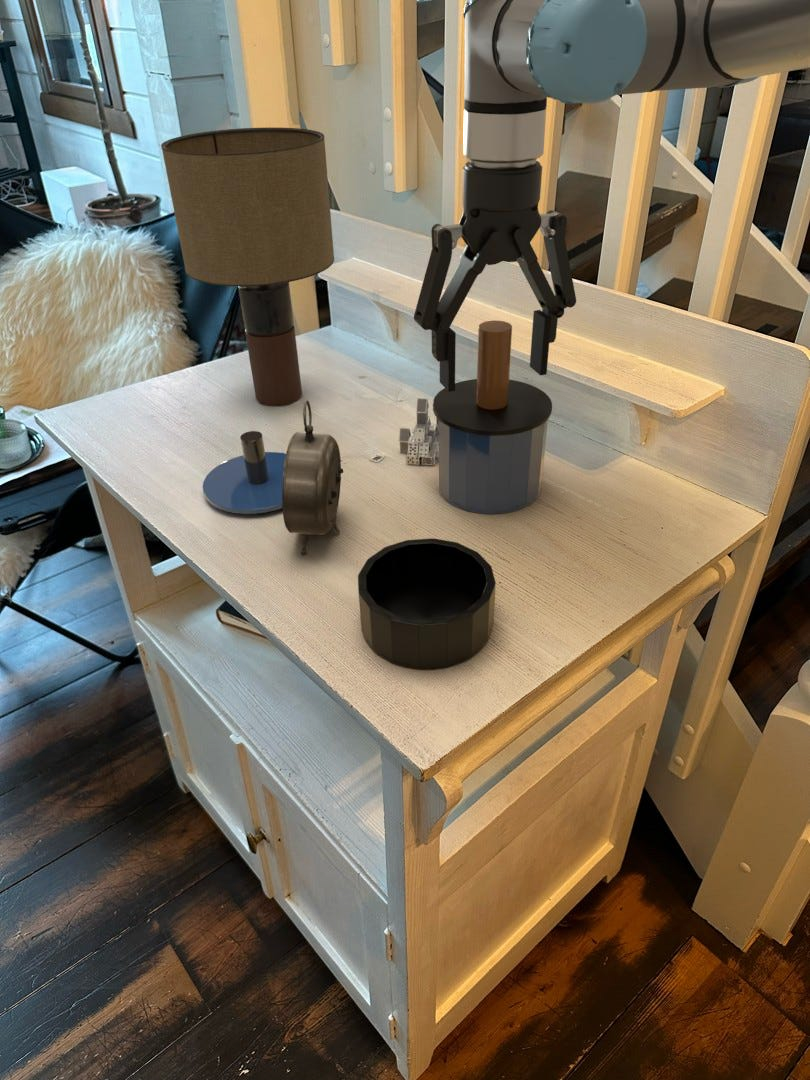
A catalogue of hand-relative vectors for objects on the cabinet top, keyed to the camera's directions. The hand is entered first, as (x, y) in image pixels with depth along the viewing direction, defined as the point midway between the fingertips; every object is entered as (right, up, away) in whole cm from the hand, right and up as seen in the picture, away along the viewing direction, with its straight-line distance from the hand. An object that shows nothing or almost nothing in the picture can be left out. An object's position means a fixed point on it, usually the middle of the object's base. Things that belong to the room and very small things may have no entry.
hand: (493, 378), depth 85 cm
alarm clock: (-20, -17, +1) cm, 26 cm away
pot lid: (-28, -11, +9) cm, 32 cm away
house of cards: (-10, -6, +17) cm, 20 cm away
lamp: (-29, +4, +31) cm, 43 cm away
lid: (0, -3, +2) cm, 4 cm away
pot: (0, -11, +8) cm, 14 cm away
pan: (-8, -26, -11) cm, 30 cm away
